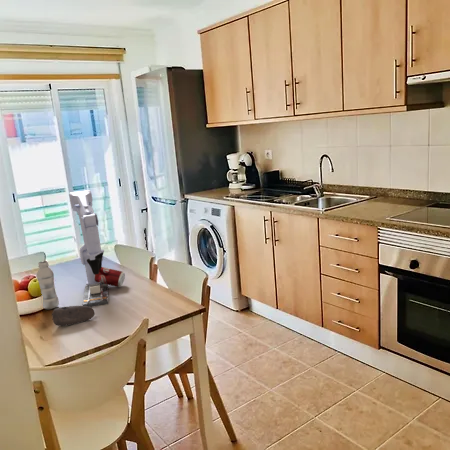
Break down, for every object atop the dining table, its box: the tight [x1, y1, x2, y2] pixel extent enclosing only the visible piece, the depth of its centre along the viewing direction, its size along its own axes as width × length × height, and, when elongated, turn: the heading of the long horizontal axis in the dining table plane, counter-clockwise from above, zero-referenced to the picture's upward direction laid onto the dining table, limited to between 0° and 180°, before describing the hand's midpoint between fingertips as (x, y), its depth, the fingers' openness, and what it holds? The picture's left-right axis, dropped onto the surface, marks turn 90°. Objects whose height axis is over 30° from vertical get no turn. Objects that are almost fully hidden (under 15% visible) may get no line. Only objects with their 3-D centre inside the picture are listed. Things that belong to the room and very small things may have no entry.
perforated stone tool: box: [51, 305, 96, 327], centre depth 166 cm, size 15×5×7 cm, turn 105°
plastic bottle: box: [36, 260, 60, 310], centre depth 181 cm, size 6×7×20 cm
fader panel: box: [81, 283, 109, 308], centre depth 192 cm, size 23×10×2 cm, turn 14°
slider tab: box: [90, 283, 101, 294], centre depth 192 cm, size 3×4×4 cm
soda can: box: [94, 266, 126, 288], centre depth 201 cm, size 7×7×12 cm
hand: (97, 271), depth 194 cm, fingers open, 7 cm apart
